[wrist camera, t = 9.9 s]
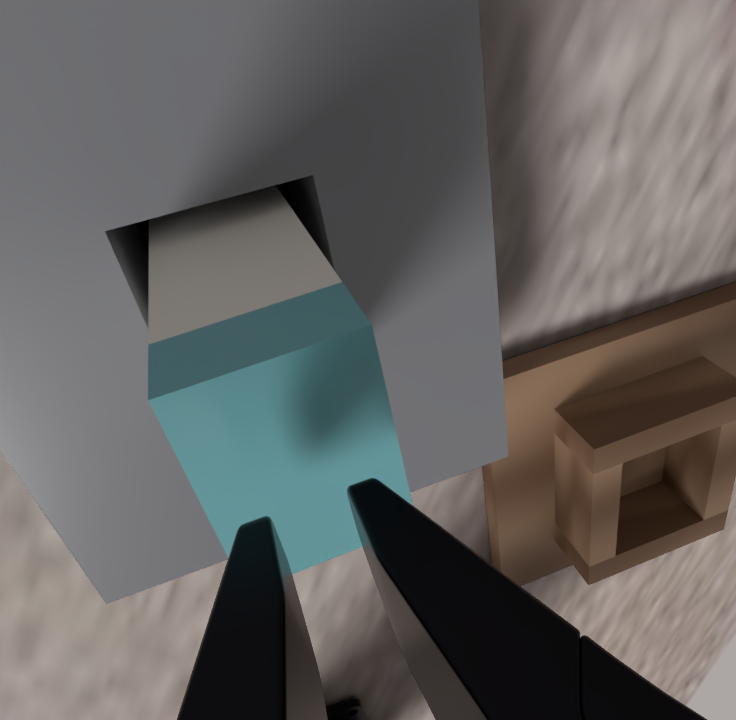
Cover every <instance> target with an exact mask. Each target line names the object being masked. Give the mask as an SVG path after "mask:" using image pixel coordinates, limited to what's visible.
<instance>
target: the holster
mask: <svg viewBox="0 0 736 720" xmlns="http://www.w3.org/2000/svg"><path fill="white" fill-rule="evenodd" d="M502 366H503V381H504V397H505V412H506V428H507V443H508V457H505V458H503V459H500V460H497V461H495V462H492V463H489V464H486V465H484V466H482V469H483V479H484V489H485V500H486V510H487V520H488V530H489V540H490V551H491V561H492V566H494V567H495V568H496V569H498V570H499V571H500V572H502V573H503V574H504V575H506V576H507V577H508V578H510V579H511V580H512V581H514V582H515V583H516V584H518V585H519V586H521V585H524V584H526V583H529V582H531V581H533V580H536V579H538V578H541V577H543V576H546V575H548V574H551V573H553V572H556V571H558V570H561V569H563V568H565V567H568V566H570V565H574V566H575V568H576V569H577V570H578V572H579V573H580V574H581V576H582V577H583V578H584V580H585V581H586V582H587V584H588V585H590V584H593V583H595V582H597V581H600V580H602V579H605V578H607V577H609V576H612V575H614V574H617V573H619V572H622V571H624V570H626V569H629V568H631V567H634V566H636V565H638V564H641V563H643V562H646V561H648V560H651V559H653V558H655V557H658V556H660V555H663V554H665V553H667V552H670V551H672V550H675V549H677V548H680V547H682V546H684V545H687V544H689V543H692V542H694V541H696V540H699V539H701V538H704V537H706V536H709V535H711V534H713V533H716V532H718V531H721V530H723V529H724V526H725V521H726V517H727V512H728V508H729V504H730V499H731V495H732V490H733V486H734V481H735V477H736V282H734V283H731V284H728V285H725V286H722V287H719V288H716V289H713V290H711V291H708V292H705V293H702V294H699V295H696V296H693V297H690V298H687V299H684V300H681V301H678V302H675V303H672V304H669V305H666V306H663V307H660V308H657V309H654V310H651V311H649V312H646V313H643V314H640V315H637V316H634V317H631V318H628V319H625V320H622V321H619V322H616V323H613V324H610V325H607V326H604V327H601V328H598V329H595V330H592V331H590V332H587V333H584V334H581V335H578V336H575V337H572V338H569V339H566V340H563V341H560V342H557V343H554V344H551V345H548V346H545V347H542V348H539V349H536V350H533V351H531V352H528V353H525V354H522V355H519V356H516V357H513V358H510V359H507V360H504V361H502Z"/></svg>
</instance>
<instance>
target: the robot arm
mask: <svg viewBox="0 0 736 720" xmlns="http://www.w3.org/2000/svg"><path fill="white" fill-rule="evenodd" d="M347 496H348V499H349V503H350V507H351V510H352V514H353V517H354V521H355V524H356V528H357V531H358V535H359V538H360V541H361V544H362V546H363V549H364V552H365V555H366V557H367V560H368V563H369V566H370V568H371V571H372V574H373V577H374V579H375V582H376V585H377V588H378V590H379V593H380V596H381V599H382V601H383V604H384V607H385V610H386V612H387V615H388V618H389V621H390V623H391V626H392V629H393V631H394V634H395V637H396V639H397V642H398V644H399V647H400V649H401V651H402V653H403V655H404V657H405V659H406V662H407V664H408V666H409V668H410V670H411V672H412V674H413V676H414V678H415V680H416V681H417V683H418V685H419V687H420V689H421V691H422V693H423V695H424V697H425V699H426V701H427V703H428V705H429V707H430V709H431V711H432V713H433V715H434V717H435V719H436V720H707V719H705V718H704V717H702V716H701V715H699V714H698V713H696V712H694V711H693V710H691V709H690V708H688V707H687V706H685V705H684V704H682V703H680V702H679V701H677V700H676V699H674V698H673V697H671V696H669V695H668V694H666V693H665V692H663V691H662V690H660V689H659V688H658V687H656V686H655V685H653V684H652V683H650V682H649V681H648V680H646V679H645V678H643V677H642V676H641V675H639V674H638V673H636V672H635V671H634V670H632V669H631V668H629V667H628V666H627V665H625V664H624V663H622V662H621V661H619V660H618V659H617V658H615V657H614V656H613V655H611V654H610V653H609V652H607V651H606V650H605V649H603V648H602V647H601V646H599V645H598V644H597V643H595V642H594V641H593V640H591V639H590V638H589V637H587V636H585V635H584V636H582V637H581V639H580V632H579V630H578V629H576V628H575V627H574V626H572V625H571V624H570V623H568V622H567V621H566V620H564V619H563V618H562V617H560V616H559V615H558V614H556V613H555V612H554V611H552V610H551V609H550V608H548V607H547V606H546V605H544V604H543V603H542V602H540V601H539V600H538V599H536V598H535V597H534V596H532V595H531V594H530V593H528V592H527V591H526V590H524V589H523V588H522V587H520V586H519V585H518V584H516V583H515V582H514V581H512V580H511V579H510V578H508V577H507V576H506V575H504V574H503V573H502V572H500V571H499V570H498V569H496V568H495V567H494V566H492V565H491V564H490V563H488V562H487V561H486V560H485V559H483V558H482V557H481V556H479V555H478V554H477V553H475V552H474V551H473V550H471V549H470V548H469V547H467V546H466V545H465V544H463V543H462V542H461V541H459V540H458V539H457V538H455V537H454V536H453V535H451V534H450V533H449V532H447V531H446V530H445V529H443V528H442V527H441V526H439V525H438V524H437V523H435V522H434V521H433V520H431V519H430V518H429V517H427V516H426V515H425V514H423V513H422V512H421V511H419V510H418V509H417V508H415V507H414V506H413V505H411V504H410V503H409V502H407V501H406V500H405V499H403V498H402V497H401V496H399V495H398V494H397V493H395V492H394V491H393V490H391V489H390V488H389V487H387V486H386V485H385V484H383V483H382V482H381V481H379V480H378V479H376V478H369V479H367V480H364V481H361V482H358V483H356V484H353V485H350V486H349V487H348V488H347ZM177 720H367V718H366V715H365V713H364V710H363V707H362V704H361V701H360V700H359V699H356V698H355V699H350V700H347V701H345V702H342V703H340V704H338V705H335V706H333V707H330V708H328V709H326V706H325V699H324V694H323V688H322V683H321V678H320V674H319V670H318V666H317V662H316V658H315V655H314V651H313V647H312V644H311V640H310V637H309V633H308V630H307V626H306V623H305V619H304V615H303V612H302V608H301V605H300V601H299V598H298V594H297V590H296V587H295V583H294V580H293V576H292V573H291V569H290V566H289V563H288V560H287V557H286V554H285V552H284V549H283V546H282V544H281V541H280V539H279V536H278V534H277V531H276V529H275V526H274V523H273V521H272V519H271V518H270V517H268V516H264V517H261V518H258V519H255V520H253V521H250V522H247V523H244V524H242V525H241V526H240V527H239V528H238V530H237V533H236V536H235V539H234V542H233V546H232V549H231V552H230V555H229V558H228V561H227V564H226V567H225V571H224V574H223V577H222V580H221V583H220V586H219V589H218V592H217V596H216V599H215V602H214V605H213V608H212V611H211V614H210V617H209V621H208V624H207V627H206V630H205V633H204V636H203V639H202V642H201V646H200V649H199V652H198V655H197V658H196V661H195V664H194V668H193V671H192V674H191V677H190V680H189V683H188V686H187V689H186V693H185V696H184V699H183V702H182V705H181V708H180V711H179V714H178V718H177Z"/></svg>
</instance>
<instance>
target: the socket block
mask: <svg viewBox="0 0 736 720" xmlns="http://www.w3.org/2000/svg"><path fill="white" fill-rule="evenodd" d="M285 182H287V183H288V187H289V191H290V195H291V199H292V203H293V207H294V211H295V214H296V216H297V217H298V218H299V220H300V221H301V223H302V224H303V226H304V227H305V229H306V230H307V231H308V233H309V234H310V236H311V237H312V239H313V240H314V242H315V243H316V245H317V246H318V247H319V249H320V250H321V252H322V253H323V255H324V256H325V258H326V259H327V260H328V262H329V263H330V265H331V266H332V268H333V269H334V271H335V272H336V273H337V275H338V276H339V278H340V279H341V281H342V282H343V284H344V285H345V287H346V288H347V289H348V291H349V292H350V294H351V295H352V297H353V298H354V300H355V301H356V302H357V304H358V305H359V307H360V308H361V310H362V311H363V313H364V314H365V316H366V317H367V318H368V320H369V321H370V323H371V324H372V327H373V332H374V336H375V340H376V345H377V349H378V354H379V358H380V363H381V367H382V371H383V376H384V380H385V385H386V389H387V393H388V398H389V402H390V407H391V411H392V416H393V420H394V424H395V429H396V433H397V438H398V442H399V447H400V451H401V455H402V460H403V464H404V469H405V473H406V478H407V482H408V486H409V491H410V492H413V491H416V490H418V489H421V488H424V487H426V486H429V485H432V484H435V483H437V482H440V481H443V480H446V479H448V478H451V477H454V476H456V475H459V474H462V473H465V472H467V471H470V470H473V469H475V468H478V467H481V466H484V465H486V464H489V463H492V462H495V461H497V460H500V459H503V458H505V457H508V443H507V428H506V412H505V397H504V381H503V366H502V350H501V335H500V319H499V304H498V288H497V273H496V257H495V242H494V226H493V211H492V195H491V180H490V164H489V149H488V133H487V118H486V103H485V87H484V72H483V56H482V41H481V25H480V10H479V0H0V451H1V452H2V454H3V455H4V457H5V458H6V460H7V461H8V462H9V464H10V465H11V467H12V468H13V470H14V471H15V473H16V474H17V475H18V477H19V478H20V480H21V481H22V483H23V484H24V486H25V487H26V489H27V490H28V491H29V493H30V494H31V496H32V497H33V499H34V500H35V502H36V503H37V504H38V506H39V507H40V509H41V510H42V512H43V513H44V515H45V516H46V517H47V519H48V520H49V522H50V523H51V525H52V526H53V528H54V529H55V530H56V532H57V533H58V535H59V536H60V538H61V539H62V541H63V542H64V544H65V545H66V546H67V548H68V549H69V551H70V552H71V554H72V555H73V557H74V558H75V559H76V561H77V562H78V564H79V565H80V567H81V568H82V570H83V571H84V572H85V574H86V575H87V577H88V578H89V580H90V581H91V583H92V584H93V585H94V587H95V588H96V590H97V591H98V593H99V594H100V596H101V597H102V599H103V600H104V601H105V603H106V604H108V603H110V602H113V601H116V600H119V599H121V598H124V597H127V596H130V595H132V594H135V593H138V592H140V591H143V590H146V589H149V588H151V587H154V586H157V585H159V584H162V583H165V582H168V581H170V580H173V579H176V578H179V577H181V576H184V575H187V574H189V573H192V572H195V571H198V570H200V569H203V568H206V567H209V566H211V565H214V564H217V563H219V562H222V561H225V560H228V556H227V554H226V552H225V550H224V548H223V547H222V545H221V543H220V541H219V539H218V537H217V535H216V533H215V531H214V529H213V527H212V525H211V523H210V521H209V519H208V517H207V515H206V513H205V511H204V509H203V507H202V505H201V503H200V501H199V499H198V497H197V496H196V494H195V492H194V490H193V488H192V486H191V484H190V482H189V480H188V478H187V476H186V474H185V472H184V470H183V468H182V466H181V464H180V462H179V460H178V458H177V456H176V454H175V452H174V450H173V448H172V446H171V445H170V443H169V441H168V439H167V437H166V435H165V433H164V431H163V429H162V427H161V425H160V423H159V421H158V419H157V417H156V415H155V413H154V411H153V409H152V407H151V405H150V403H149V401H148V294H149V256H148V253H147V251H146V249H145V246H144V244H143V241H142V239H141V236H140V234H139V232H138V229H137V227H136V224H135V223H137V222H141V221H145V220H148V219H152V218H156V217H160V216H163V215H167V214H171V213H174V212H178V211H182V210H185V209H189V208H193V207H197V206H200V205H204V204H208V203H211V202H215V201H219V200H222V199H226V198H230V197H234V196H237V195H241V194H245V193H248V192H252V191H256V190H259V189H263V188H267V187H271V186H274V185H278V184H282V183H285Z"/></svg>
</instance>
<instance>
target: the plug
mask: <svg viewBox="0 0 736 720" xmlns="http://www.w3.org/2000/svg"><path fill="white" fill-rule="evenodd" d="M148 401H149V403H150V405H151V407H152V409H153V411H154V413H155V415H156V417H157V419H158V421H159V423H160V425H161V427H162V429H163V431H164V433H165V435H166V437H167V439H168V441H169V443H170V445H171V446H172V448H173V450H174V452H175V454H176V456H177V458H178V460H179V462H180V464H181V466H182V468H183V470H184V472H185V474H186V476H187V478H188V480H189V482H190V484H191V486H192V488H193V490H194V492H195V494H196V496H197V497H198V499H199V501H200V503H201V505H202V507H203V509H204V511H205V513H206V515H207V517H208V519H209V521H210V523H211V525H212V527H213V529H214V531H215V533H216V535H217V537H218V539H219V541H220V543H221V545H222V547H223V548H224V550H225V552H226V554H227V556H228V558H229V555H230V552H231V549H232V546H233V542H234V539H235V536H236V533H237V530H238V528H239V527H240V526H241V525H242V524H244V523H247V522H250V521H253V520H255V519H258V518H261V517H264V516H268V517H270V518H271V519H272V521H273V523H274V526H275V529H276V531H277V534H278V536H279V539H280V541H281V544H282V546H283V549H284V552H285V554H286V557H287V560H288V563H289V566H290V569H291V573H292V574H294V573H296V572H299V571H301V570H304V569H306V568H309V567H311V566H314V565H316V564H319V563H322V562H324V561H327V560H329V559H332V558H334V557H337V556H339V555H342V554H344V553H347V552H349V551H352V550H355V549H357V548H360V547H362V544H361V541H360V538H359V535H358V531H357V528H356V524H355V521H354V517H353V514H352V510H351V507H350V503H349V499H348V496H347V488H348V487H349V486H350V485H353V484H356V483H358V482H361V481H364V480H367V479H369V478H376V479H378V480H379V481H381V482H382V483H383V484H385V485H386V486H387V487H389V488H390V489H391V490H393V491H394V492H395V493H397V494H398V495H399V496H401V497H402V498H403V499H405V500H406V501H407V502H409V503H410V504H411V505H413V504H412V500H411V495H410V491H409V486H408V482H407V478H406V473H405V469H404V464H403V460H402V455H401V451H400V447H399V442H398V438H397V433H396V429H395V424H394V420H393V416H392V411H391V407H390V402H389V398H388V393H387V389H386V385H385V380H384V376H383V371H382V367H381V363H380V358H379V354H378V349H377V345H376V340H375V336H374V332H373V327H372V324H371V323H370V321H369V320H368V318H367V317H366V316H365V314H364V313H363V311H362V310H361V308H360V307H359V305H358V304H357V302H356V301H355V300H354V298H353V297H352V295H351V294H350V292H349V291H348V289H347V288H346V287H345V285H344V284H343V282H342V281H341V279H340V278H339V276H338V275H337V273H336V272H335V271H334V269H333V268H332V266H331V265H330V263H329V262H328V260H327V259H326V258H325V256H324V255H323V253H322V252H321V250H320V249H319V247H318V246H317V245H316V243H315V242H314V240H313V239H312V237H311V236H310V234H309V233H308V231H307V230H306V229H305V227H304V226H303V224H302V223H301V221H300V220H299V218H298V217H297V216H296V214H295V213H294V211H293V210H292V208H291V207H290V205H289V204H288V202H287V201H286V200H285V198H284V197H283V195H282V194H281V192H280V191H279V189H278V188H277V187H276V185H274V186H271V187H267V188H263V189H259V190H256V191H252V192H248V193H245V194H241V195H237V196H234V197H230V198H226V199H222V200H219V201H215V202H211V203H208V204H204V205H200V206H197V207H193V208H189V209H185V210H182V211H178V212H174V213H171V214H167V215H163V216H160V217H156V218H152V219H149V294H148Z"/></svg>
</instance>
